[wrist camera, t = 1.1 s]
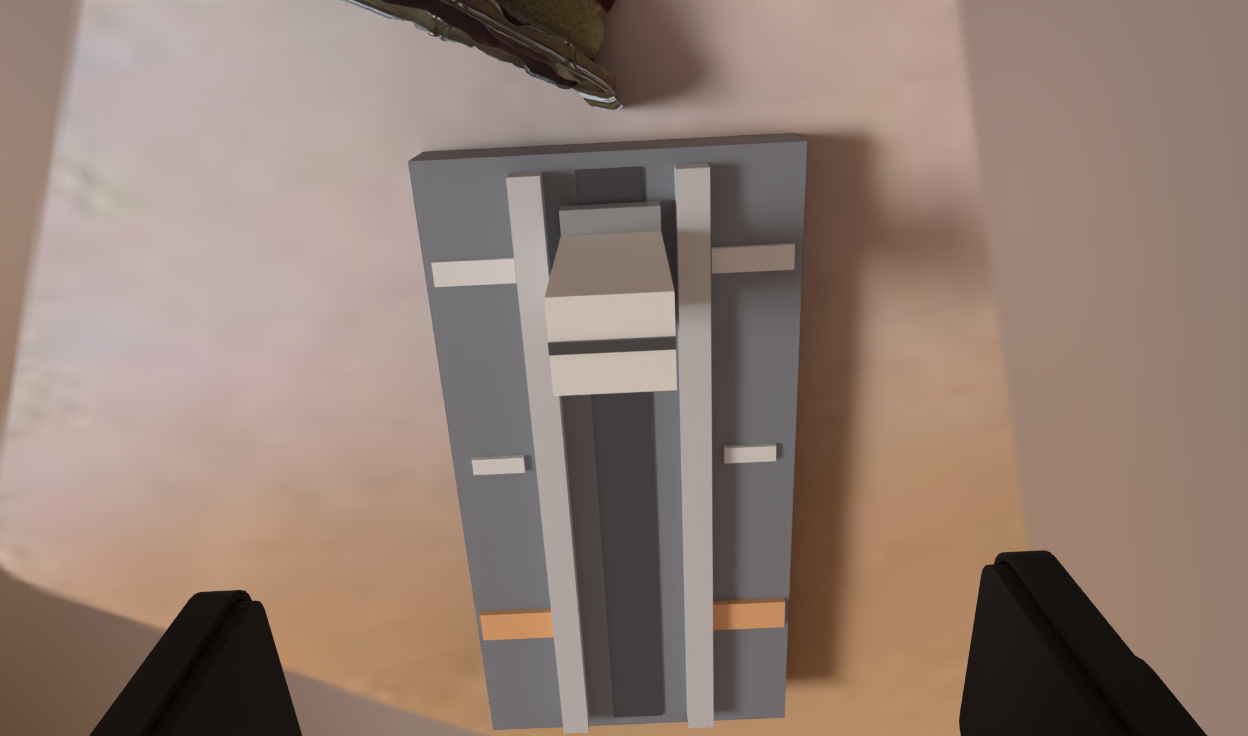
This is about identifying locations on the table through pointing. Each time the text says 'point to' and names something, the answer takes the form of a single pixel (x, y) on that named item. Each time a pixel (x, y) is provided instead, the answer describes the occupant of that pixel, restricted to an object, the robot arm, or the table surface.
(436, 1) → the chocolate cake
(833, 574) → the table surface
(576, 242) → the fader knob
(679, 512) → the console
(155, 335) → the table surface
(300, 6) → the table surface
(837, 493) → the table surface
